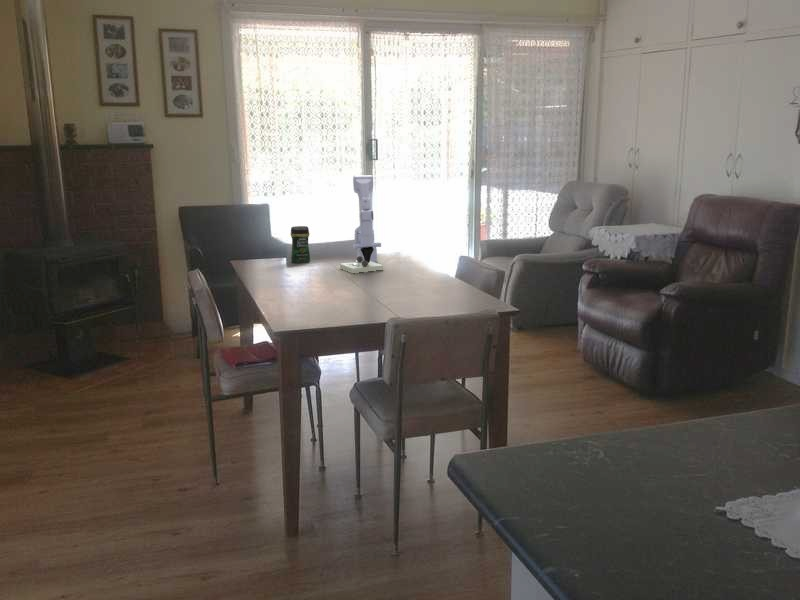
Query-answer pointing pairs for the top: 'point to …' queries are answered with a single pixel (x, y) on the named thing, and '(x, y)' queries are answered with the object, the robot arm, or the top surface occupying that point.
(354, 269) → the sage board
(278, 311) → the top surface
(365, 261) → the black rubber ball
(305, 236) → the coffee jar
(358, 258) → the black rubber ball
